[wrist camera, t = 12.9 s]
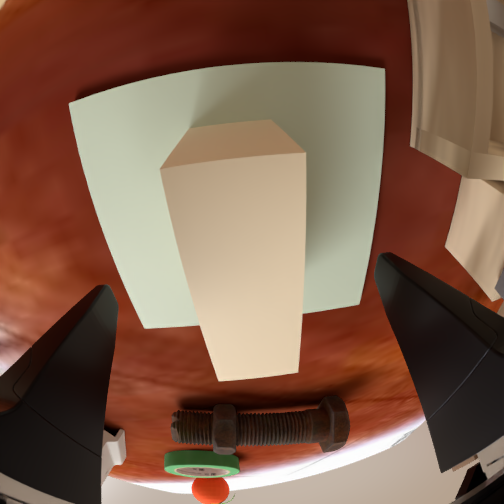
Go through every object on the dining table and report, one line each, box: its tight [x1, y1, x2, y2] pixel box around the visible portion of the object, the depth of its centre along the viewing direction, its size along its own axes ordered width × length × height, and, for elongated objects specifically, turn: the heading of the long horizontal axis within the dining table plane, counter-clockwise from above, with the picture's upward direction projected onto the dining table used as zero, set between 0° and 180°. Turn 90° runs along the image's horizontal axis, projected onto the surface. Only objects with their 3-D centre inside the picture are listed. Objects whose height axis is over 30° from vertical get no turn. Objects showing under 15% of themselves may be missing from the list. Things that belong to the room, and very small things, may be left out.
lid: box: [69, 62, 385, 381], centre depth 10 cm, size 12×12×6 cm
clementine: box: [192, 477, 229, 504], centre depth 38 cm, size 8×7×7 cm
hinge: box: [101, 429, 126, 485], centre depth 26 cm, size 17×5×10 cm, turn 159°
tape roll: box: [164, 450, 240, 478], centre depth 33 cm, size 11×11×3 cm
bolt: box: [171, 395, 350, 455], centre depth 21 cm, size 6×5×15 cm
